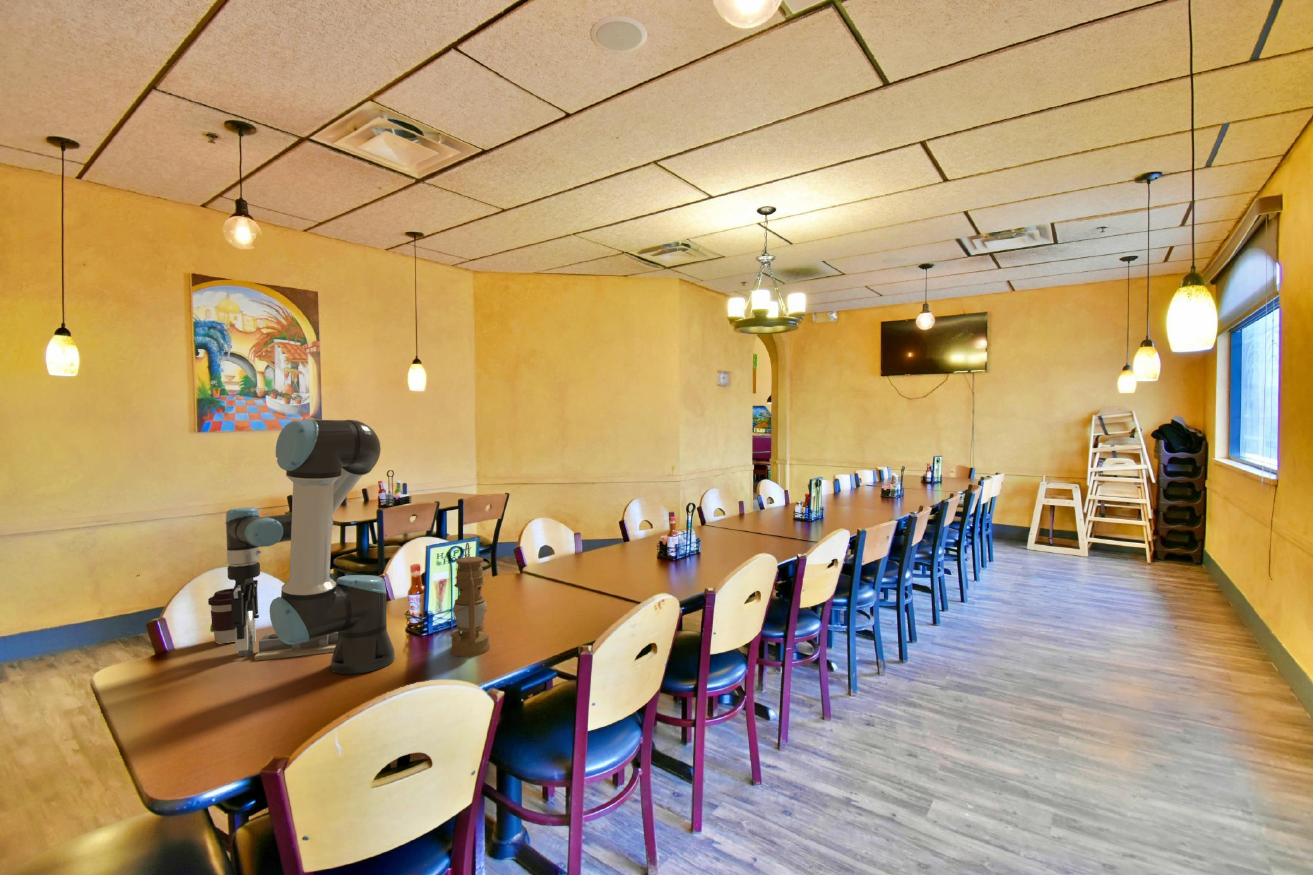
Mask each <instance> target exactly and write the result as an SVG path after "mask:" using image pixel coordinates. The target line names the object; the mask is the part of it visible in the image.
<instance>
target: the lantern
mask: <svg viewBox="0 0 1313 875" xmlns="http://www.w3.org/2000/svg"><path fill="white" fill-rule="evenodd" d="M455 562H456V565H459V566H458V568H457V570H456V576H455V579H456V583H454V587H455V588H457V589H458V593H459V594H458V596H457V599H454V604H453V607H452V608H453V609H452V611H453V612H452V614H453V615H452V616H453V620H454V622H455V625H456V630H455V631H453V632H452V633H451V634H450V637H451V647H450V653H451V655H453V656H456V657H463V658H465V657H474V656H479V655H482V654H485V653H487V652H489V650H490V648H491V646H490V645H491V644H490V642H489V640H490V639H489V638H490V637H489V634H488V633H486V632H484V631H480V630H481V629H483V628H484V623H483V622H484V618H485V614H486V610H487V602H486V598H485V596H483V593H481V592H482V587H483V586H485V585H486V582H485V581H484V576H485V575H484V572H483V571H484V569H483V567H482V563H483V562H484V558H483V557H480V556H470V543H469V542H466V544H465V551H464V557H460V558H457V559H456V560H455Z"/></svg>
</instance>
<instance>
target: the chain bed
mask: <svg viewBox="0 0 1313 875" xmlns="http://www.w3.org/2000/svg"><path fill="white" fill-rule="evenodd" d="M337 640H338V632H336V633H333V634H329V635H326V636H322V637H319V638H316V639H312V640H309V641H308V642H301V643H296V644H286V643H284V642H283V641H281V640H280V639H279V637H278V636H277V634H276V633H273V634H267V635H266V634H265V635H264V636H263V637H261V638H260V639H259V640H258V652H257V653H256V654H254V662H255V661H266V660H275V659H282V658H292V657H301V656H309V655H310V656H311V655H320V654H327V653H334V650H335V647H336V643H337Z"/></svg>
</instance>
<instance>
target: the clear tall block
mask: <svg viewBox="0 0 1313 875" xmlns="http://www.w3.org/2000/svg"><path fill="white" fill-rule="evenodd" d="M247 625H248V650H241V651H237V653H238V657H239V656H246V657H249V655H250V656H253V655H255V643H254V629H253V610H247V618H246V626H247ZM252 654H253V655H252Z"/></svg>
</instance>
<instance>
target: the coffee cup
mask: <svg viewBox="0 0 1313 875" xmlns="http://www.w3.org/2000/svg"><path fill="white" fill-rule="evenodd" d="M231 591H234V587H233V588H226V589H220V590H218V591H215V592H214V594H213V595H212V596H211V597H209V598H208V599H207V600H208V601H207V604H208V606H210V608H211V610H210V617H211V618H210V619H211V624H212V625H211V626H212V631H213V636H214V643H215V642H218V643H227V642H232V641H236V633H235V628H231V626H232V613H231V596H230V592H231Z"/></svg>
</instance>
